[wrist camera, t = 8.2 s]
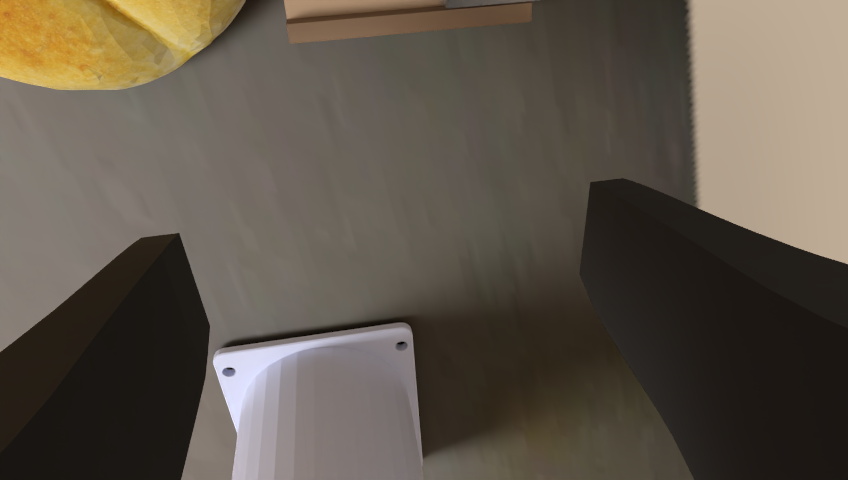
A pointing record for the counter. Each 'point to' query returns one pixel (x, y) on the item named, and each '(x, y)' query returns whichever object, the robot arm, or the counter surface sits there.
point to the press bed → (390, 17)
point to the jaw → (476, 2)
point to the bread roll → (105, 39)
